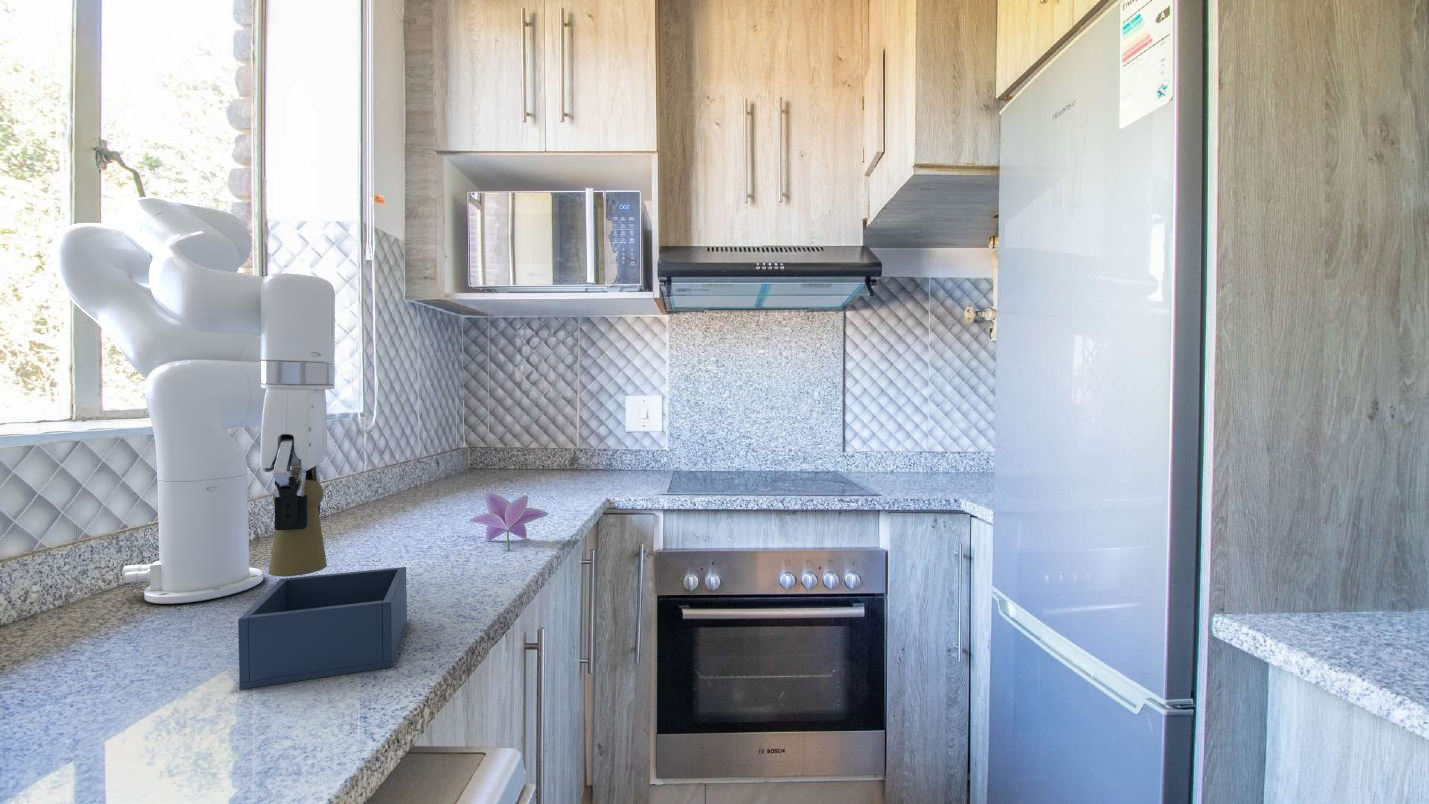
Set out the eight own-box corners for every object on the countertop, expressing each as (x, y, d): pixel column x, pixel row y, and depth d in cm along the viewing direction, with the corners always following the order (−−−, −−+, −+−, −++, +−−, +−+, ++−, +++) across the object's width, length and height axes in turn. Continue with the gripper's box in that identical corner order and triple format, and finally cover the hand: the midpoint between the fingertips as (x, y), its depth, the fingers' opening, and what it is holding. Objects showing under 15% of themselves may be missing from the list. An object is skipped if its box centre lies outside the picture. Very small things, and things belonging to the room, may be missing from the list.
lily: (557, 547, 110) (550, 497, 113) (526, 536, 99) (519, 481, 103) (497, 565, 111) (492, 515, 115) (459, 557, 100) (455, 502, 104)
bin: (239, 689, 56) (237, 619, 56) (281, 637, 68) (280, 578, 68) (392, 667, 61) (391, 601, 60) (407, 621, 72) (406, 566, 72)
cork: (257, 570, 74) (257, 481, 74) (310, 558, 80) (310, 475, 79) (285, 579, 71) (285, 487, 71) (337, 566, 77) (337, 480, 76)
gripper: (283, 375, 81) (283, 510, 82) (234, 376, 65) (235, 543, 66) (348, 377, 84) (347, 507, 85) (316, 378, 68) (315, 539, 69)
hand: (298, 521), depth 75 cm, fingers closed on cork, 5 cm apart
